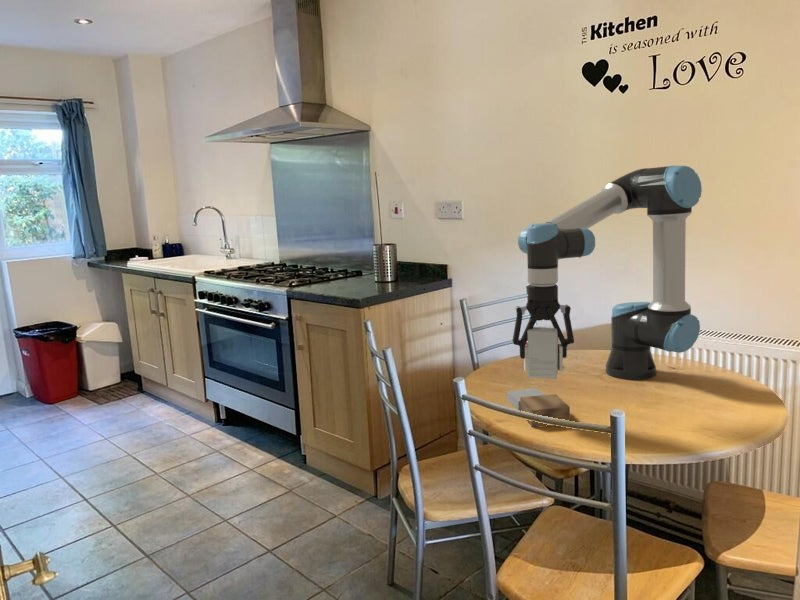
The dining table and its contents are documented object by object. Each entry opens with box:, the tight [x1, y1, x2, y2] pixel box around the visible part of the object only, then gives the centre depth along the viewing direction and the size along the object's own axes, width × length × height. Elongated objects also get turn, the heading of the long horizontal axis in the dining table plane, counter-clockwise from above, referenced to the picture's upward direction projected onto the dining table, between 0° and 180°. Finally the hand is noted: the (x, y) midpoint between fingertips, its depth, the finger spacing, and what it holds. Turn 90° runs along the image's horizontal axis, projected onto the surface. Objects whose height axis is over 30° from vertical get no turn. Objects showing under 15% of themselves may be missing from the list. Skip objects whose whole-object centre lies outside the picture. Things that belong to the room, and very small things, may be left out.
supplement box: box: [527, 324, 559, 380], centre depth 149 cm, size 7×7×13 cm
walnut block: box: [520, 394, 571, 428], centre depth 152 cm, size 10×10×5 cm
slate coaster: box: [506, 387, 545, 411], centre depth 164 cm, size 9×9×3 cm
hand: (543, 369), depth 150 cm, fingers closed on supplement box, 8 cm apart
